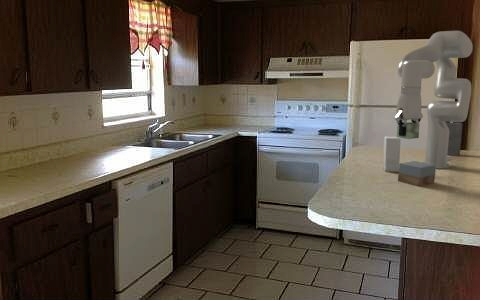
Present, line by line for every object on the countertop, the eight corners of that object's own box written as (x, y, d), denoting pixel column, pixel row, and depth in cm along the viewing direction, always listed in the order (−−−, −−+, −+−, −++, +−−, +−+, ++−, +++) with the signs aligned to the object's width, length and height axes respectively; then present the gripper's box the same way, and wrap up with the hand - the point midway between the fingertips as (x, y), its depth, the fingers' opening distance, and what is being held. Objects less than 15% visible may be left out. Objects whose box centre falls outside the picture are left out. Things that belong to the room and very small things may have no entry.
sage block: (406, 136, 190) (407, 122, 189) (418, 138, 185) (419, 123, 184) (396, 137, 187) (397, 122, 186) (408, 139, 182) (409, 124, 181)
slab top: (413, 170, 193) (414, 160, 192) (435, 174, 185) (435, 165, 184) (398, 172, 187) (399, 163, 187) (420, 177, 179) (420, 167, 178)
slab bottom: (413, 179, 193) (414, 170, 193) (434, 184, 185) (434, 174, 184) (397, 182, 188) (398, 172, 188) (417, 187, 180) (418, 177, 179)
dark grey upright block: (429, 154, 251) (432, 118, 247) (430, 152, 256) (433, 117, 252) (459, 156, 244) (463, 119, 241) (459, 154, 249) (462, 118, 246)
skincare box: (399, 172, 204) (401, 138, 202) (383, 171, 206) (385, 138, 203) (396, 168, 212) (398, 136, 210) (382, 168, 214) (383, 135, 211)
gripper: (417, 90, 190) (414, 132, 193) (388, 91, 182) (385, 135, 185) (432, 91, 184) (429, 135, 187) (403, 92, 175) (400, 138, 179)
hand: (407, 134), depth 186 cm, fingers closed on sage block, 6 cm apart
